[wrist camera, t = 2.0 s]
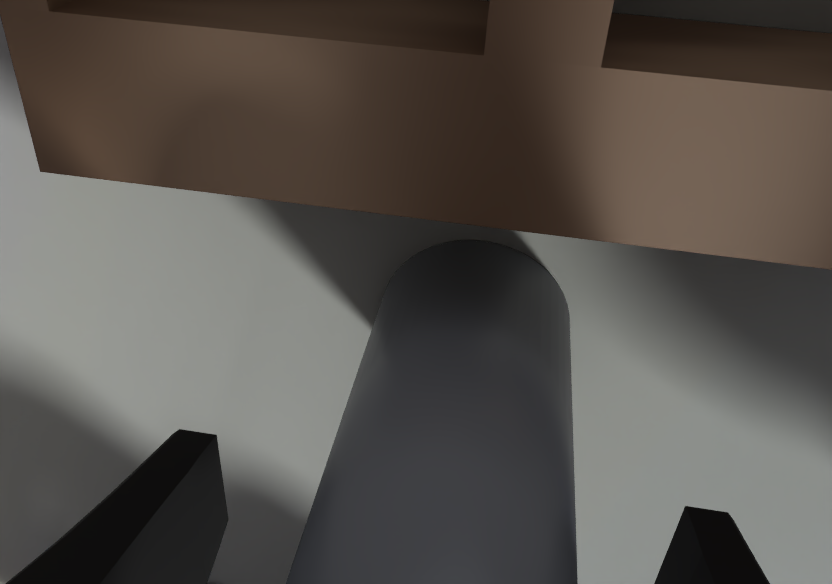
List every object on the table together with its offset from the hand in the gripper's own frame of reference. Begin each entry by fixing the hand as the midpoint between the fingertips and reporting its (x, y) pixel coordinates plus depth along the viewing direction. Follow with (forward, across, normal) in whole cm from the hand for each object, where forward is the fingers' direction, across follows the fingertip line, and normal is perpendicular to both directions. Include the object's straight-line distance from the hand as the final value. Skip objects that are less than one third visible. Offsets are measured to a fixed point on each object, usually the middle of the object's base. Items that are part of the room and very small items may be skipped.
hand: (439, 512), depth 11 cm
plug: (+5, 0, 0) cm, 5 cm away
